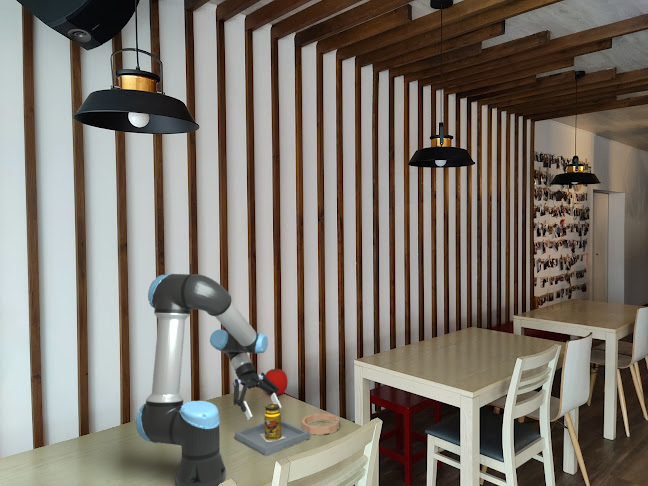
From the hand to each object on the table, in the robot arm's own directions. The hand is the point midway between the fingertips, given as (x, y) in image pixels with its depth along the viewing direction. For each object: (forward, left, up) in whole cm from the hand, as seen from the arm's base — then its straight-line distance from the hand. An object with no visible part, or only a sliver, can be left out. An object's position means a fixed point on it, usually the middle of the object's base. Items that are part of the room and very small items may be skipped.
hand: (265, 413), depth 185 cm
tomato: (+31, +36, -8) cm, 49 cm away
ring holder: (+19, -10, -8) cm, 23 cm away
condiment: (0, -5, -8) cm, 9 cm away
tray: (-1, -5, -8) cm, 10 cm away
